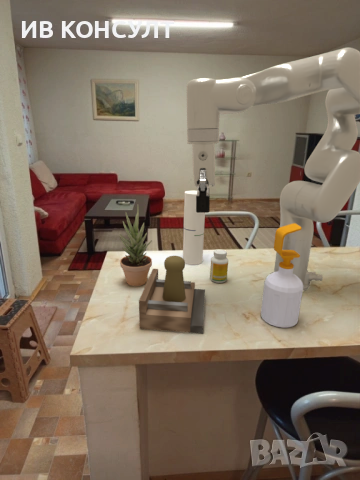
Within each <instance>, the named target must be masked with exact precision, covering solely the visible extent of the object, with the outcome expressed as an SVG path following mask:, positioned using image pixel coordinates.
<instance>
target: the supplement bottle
mask: <svg viewBox="0 0 360 480" xmlns="http://www.w3.org/2000/svg"><path fill="white" fill-rule="evenodd" d="M227 254H228V253H227V250H225V249H214V251H213V255H212V257H211V258H210V268H209V270H210V271H209V280H210V281H211V282H213V283H217V284H222V283H225V282H226V281H227V279H228V270H229V269H228V268H229V259H228V257H227Z"/></svg>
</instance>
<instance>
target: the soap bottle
mask: <svg viewBox="0 0 360 480" xmlns="http://www.w3.org/2000/svg"><path fill="white" fill-rule="evenodd" d="M301 229H302V228H301V227H300V226H299V225H297V224H295V223H293V224H289V225H286V226H283V227H280V226H279V227H278V228H277V229H276V230H275V234H274V241H273V242H274V243H273V249H274V251H275V252H277V253H278V254H279V255H280V256H281V258H282V259H283V262H280V263H279V269H278V271H277V272H274V271H273V273H272V272H271V273H272V274H270V273H269V274H270V275H269V274H268V275H267V276H266V278H265V280H264V282H263V290H262V291H263V292H262V300H261V307H260V308H261V309H260V316H261V318H262V320H263V321H264V322H265V323H267V324H268V325H271V326H274V327H277V328H292V327H295V325H297V324H298V322H299V321H298V320H299V316H300V309H301V303H302V298H303V292H304V291H303V283H302V281H301V280H300V279H299V278H298V277H297V276H296V275H294V274H293V267H294V265H293V264H292V263H290V262H291V260H293V259H294V258H299V257H300V255H299V254H298V253H297V252H296V251H294V250H282V248H283V241H284V237H285V236H286V235H287V234H290V233H293V232H296V231H299V230H301Z"/></svg>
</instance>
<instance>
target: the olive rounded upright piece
mask: <svg viewBox="0 0 360 480" xmlns="http://www.w3.org/2000/svg"><path fill="white" fill-rule="evenodd" d="M163 265H164V269H165V270H166V271H165V277H164V280H165V283H164V289H163V296H162V298H163V300H164V301H168V302H182V301H184V300H185V299H186V296H185V287H184V281H185V279H184V278H185V277H184V270H185V266H186V263H185V261H184V259H183V256H179V255H169V256H167V257H166V258H165V260H164V262H163Z"/></svg>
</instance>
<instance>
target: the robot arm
mask: <svg viewBox="0 0 360 480" xmlns="http://www.w3.org/2000/svg"><path fill="white" fill-rule="evenodd" d="M186 84H187V85H186V123H187V124H186V130H187V131H186V135H187V137H186V138H187V139H186V140H187V144H188V145H192V147H191V148H192V172H193V175H192V176H193V185H194V186H195V187H196V191H197V196H196V212H197V213H205V214H206V213H209V212H210V206H211V205H210V204H211V203H210V201H211V200H210V199H211V198H210V197H211V196H210V187H209V186H211V187H214V186H215V181H216V180H215V178H216V176H215V175H216V174H215V173H216V172H215V170H216V148H215V144H219V143H220V116H222V115H234V114H241V113H245V112H246V111H249V109H251V108H252V107H255V106H260V105H271V104H274V105H275V104H278V103H285V102H288V101H292V100H296V99H299V98H301V97H305V96H309V95H310V96H311V95H313V94H316V93H320V92H324V91H327V94H326V97H325V109H326V115H327V127H326V130H325V132H324V134H323V135H322V137H321V139H320V140H319V141H318V143H317V145H316V146H315V148H314V149H313V151H312V152H311V154H310V156H309V157H308V159H307V160H306V163H305V165H304V169H303V170H304V174H305V176H306V177H307V178H308V179H310V180H311V181H315V182H316V183H314V182H310V181H306V180H305V181H304V180H293V181H291V182H289V183H287V184H286V185H284V187H283V188H282V189H281V191H280V196H279V207H280V222H279V224H280V225H279V228H280V227H283V226H286V225H289V224H293V223H295V224H297V225H299V226H300V227H301V228H302V229H301V230H299V231H296V232H293V233H290V234H287V235H286V236H285V237H284V241H283V248H282V250H294V251H296V252H297V253H298V254H299V255H300V257H299V258H294V259H293V260H291V262H290V263H292V264H293V265H294V267H293V274H294V275H296V276H297V277H298V278H299V279H300V280H301V281H302V283H303V292H304V291H307V290H309V288H310V287H311V282H312V281H317V282H322V281H323V279H324V278H323V277H324V276H323V274H317V273H316V271H309V270H308V266H309V260H310V254H311V248H312V243H313V237H314V228H315V227H314V222H317V223H327V222H330V221H332V220H333V219H335V218H336V217H337V215H338V214H340V212H341V210H342V209H343V208H344V206H345V205H346V203H347V202H348V201H349V199H350V197H351V196H352V194H353V193H354V192H355V190H356V189H357V187H358V186H359V183H360V152H359V151H357V150H353V147H354V146H355V144H356V142H357V140H358V135H359V134H358V133H359V130H358V126H357V121H356V117H355V115H360V51H359V50H358V49H356V48H355V47H354V48H353V47H342V48H340V49H339V48H338V49H336V50H333V51H332V50H331V51H329V52H324V53H321V54H317V55H313V56H310V57H309V56H308V57H304V58H301V59H297V60H292V61H288V62H284V63H280V64H277V65H274V66H271V67H268V68H265V69H263V70H261V71H257V72H255V73H254V72H253V73H251V74H247V75H244V76H238V77H237V76H236V77H230V78H220V79H216V78H211V77H201V78H200V77H199V78H194V79H191V80H189V81H188V82H187V83H186ZM317 183H322V184H317ZM275 252H276V251H275ZM274 260H275V261H274V269H273V272H277V271H278V269H279V263H280V262H283V259H282V258H281V256H280V255H279V254H278V253H277V252H276V253H275V259H274ZM273 272H270V273H269V274H268V275H270V274H272V273H273Z"/></svg>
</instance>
